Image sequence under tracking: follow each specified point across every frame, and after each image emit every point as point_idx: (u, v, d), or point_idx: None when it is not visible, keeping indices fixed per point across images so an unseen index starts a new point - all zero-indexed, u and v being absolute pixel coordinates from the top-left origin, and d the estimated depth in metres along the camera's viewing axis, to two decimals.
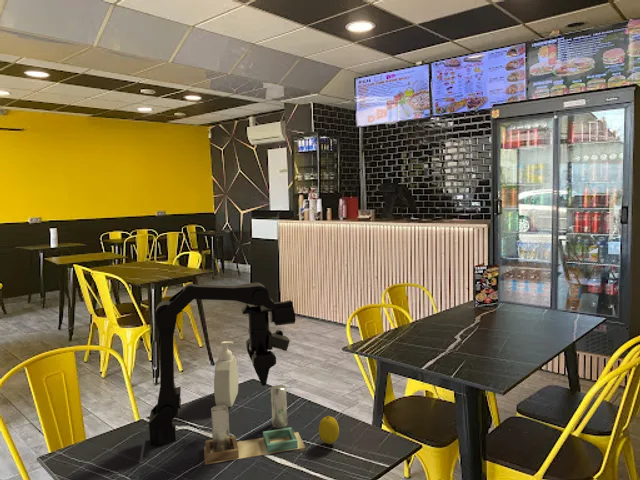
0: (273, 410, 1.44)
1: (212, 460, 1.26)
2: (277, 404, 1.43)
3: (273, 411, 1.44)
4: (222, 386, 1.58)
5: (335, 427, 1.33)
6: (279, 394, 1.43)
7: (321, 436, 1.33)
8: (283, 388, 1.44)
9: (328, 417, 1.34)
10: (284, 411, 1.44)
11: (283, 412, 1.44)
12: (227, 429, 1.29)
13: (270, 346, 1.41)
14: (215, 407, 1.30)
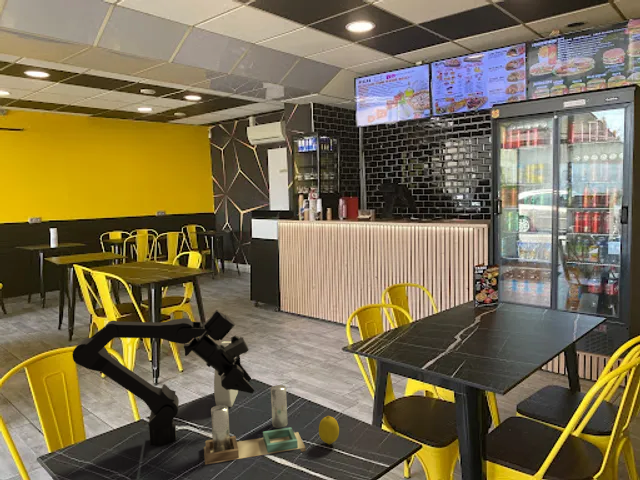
0: (273, 410, 1.44)
1: (212, 460, 1.26)
2: (277, 404, 1.43)
3: (273, 411, 1.44)
4: None
5: (335, 427, 1.33)
6: (279, 394, 1.43)
7: (321, 436, 1.33)
8: (283, 388, 1.44)
9: (328, 417, 1.34)
10: (284, 411, 1.44)
11: (283, 412, 1.44)
12: (227, 429, 1.29)
13: (231, 359, 1.38)
14: (215, 407, 1.30)
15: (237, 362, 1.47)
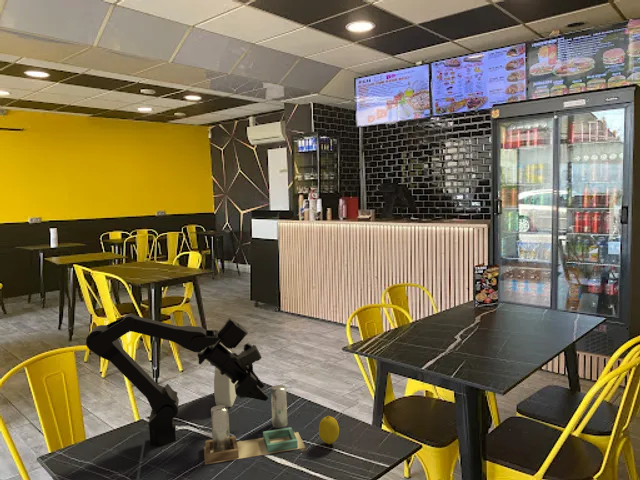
0: (273, 410, 1.44)
1: (212, 460, 1.26)
2: (277, 404, 1.43)
3: (273, 411, 1.44)
4: (222, 386, 1.58)
5: (335, 427, 1.33)
6: (279, 394, 1.43)
7: (321, 436, 1.33)
8: (283, 388, 1.44)
9: (328, 417, 1.34)
10: (284, 411, 1.44)
11: (283, 412, 1.44)
12: (227, 429, 1.29)
13: (244, 367, 1.39)
14: (215, 407, 1.30)
15: (250, 369, 1.48)
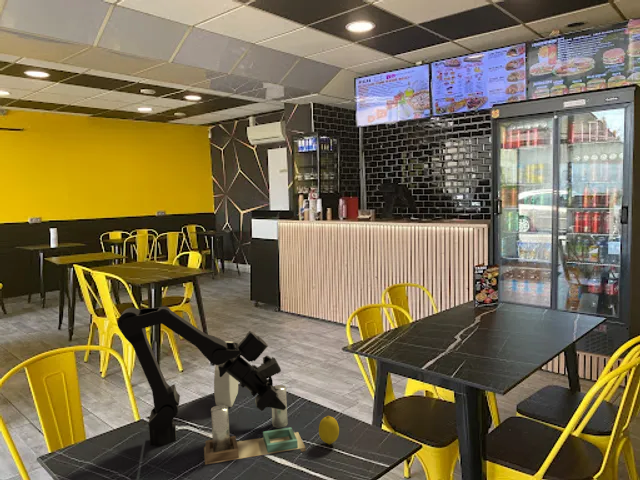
0: (273, 410, 1.44)
1: (212, 460, 1.26)
2: None
3: (273, 411, 1.44)
4: (222, 386, 1.58)
5: (335, 427, 1.33)
6: (279, 394, 1.43)
7: (321, 436, 1.33)
8: (283, 388, 1.44)
9: (328, 417, 1.34)
10: (284, 411, 1.44)
11: (283, 412, 1.44)
12: (227, 429, 1.29)
13: (264, 380, 1.41)
14: (215, 407, 1.30)
15: (269, 384, 1.47)
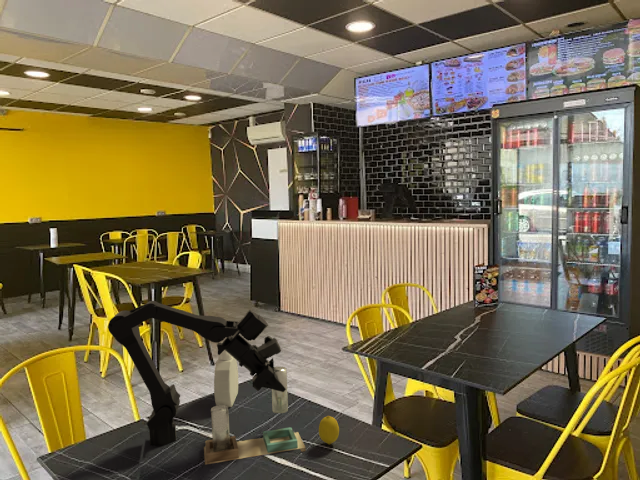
0: (273, 391, 1.40)
1: (212, 460, 1.26)
2: None
3: (272, 392, 1.40)
4: (222, 386, 1.58)
5: (335, 427, 1.33)
6: (278, 376, 1.39)
7: (321, 436, 1.33)
8: (283, 369, 1.40)
9: (328, 417, 1.34)
10: (284, 393, 1.40)
11: (283, 394, 1.40)
12: (227, 429, 1.29)
13: (263, 360, 1.37)
14: (215, 407, 1.30)
15: (270, 365, 1.43)
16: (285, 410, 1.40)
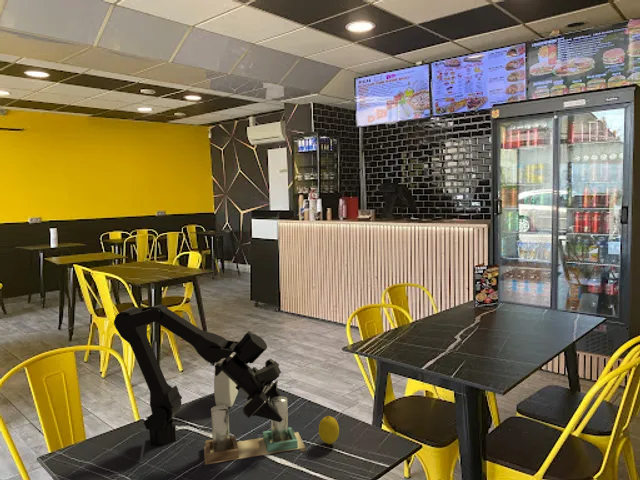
0: (271, 422, 1.34)
1: (212, 460, 1.26)
2: None
3: (271, 423, 1.34)
4: (222, 386, 1.58)
5: (335, 427, 1.33)
6: (277, 406, 1.32)
7: (321, 436, 1.33)
8: (283, 400, 1.33)
9: (328, 417, 1.34)
10: (282, 425, 1.33)
11: (281, 427, 1.32)
12: (227, 429, 1.29)
13: (259, 385, 1.31)
14: (215, 407, 1.30)
15: (273, 388, 1.38)
16: None
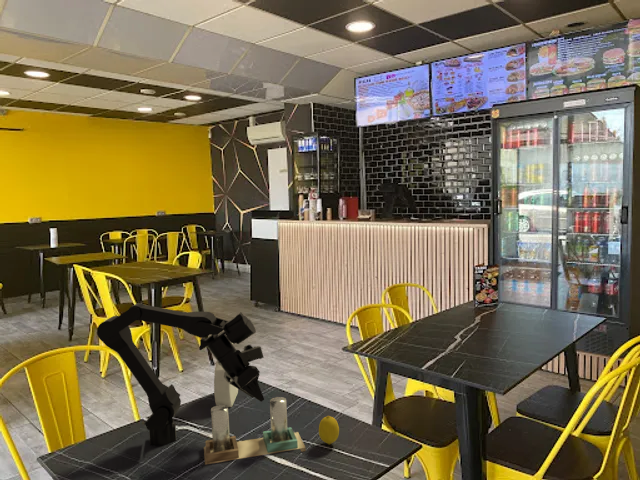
0: (271, 423, 1.33)
1: (212, 460, 1.26)
2: (274, 418, 1.32)
3: (271, 424, 1.33)
4: (222, 386, 1.58)
5: (335, 427, 1.33)
6: (276, 408, 1.32)
7: (321, 436, 1.33)
8: (282, 401, 1.33)
9: (328, 417, 1.34)
10: (282, 426, 1.32)
11: (280, 428, 1.32)
12: (227, 429, 1.29)
13: (246, 362, 1.35)
14: (215, 407, 1.30)
15: None
16: None
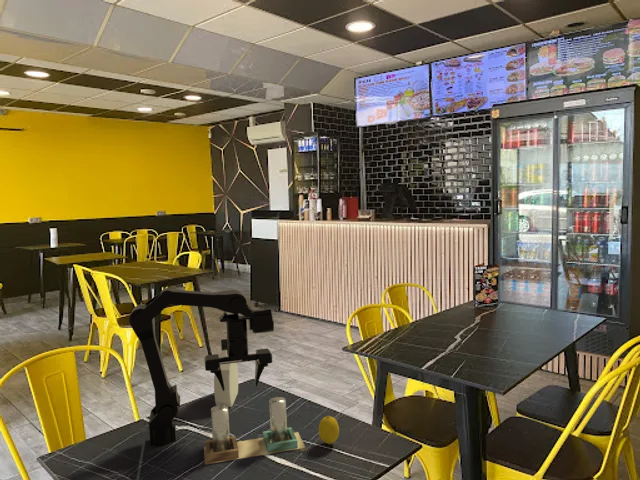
0: (270, 423, 1.33)
1: (212, 460, 1.26)
2: (273, 418, 1.32)
3: (270, 424, 1.33)
4: None
5: (335, 427, 1.33)
6: (275, 408, 1.32)
7: (321, 436, 1.33)
8: (281, 401, 1.33)
9: (328, 417, 1.34)
10: (281, 426, 1.32)
11: (280, 428, 1.32)
12: (227, 429, 1.29)
13: None
14: (215, 407, 1.30)
15: None
16: None
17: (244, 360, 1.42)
